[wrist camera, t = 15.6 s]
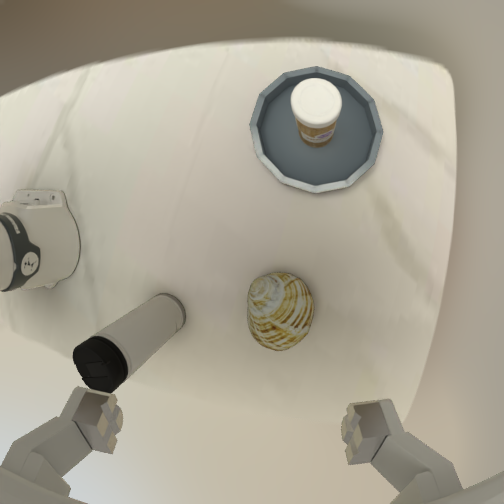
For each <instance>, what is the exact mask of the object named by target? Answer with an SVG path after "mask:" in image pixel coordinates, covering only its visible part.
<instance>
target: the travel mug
mask: <svg viewBox="0 0 504 504" xmlns="http://www.w3.org/2000/svg"><path fill="white" fill-rule="evenodd" d="M184 322H185V311H184V308H183V306H182V304H181V303H180V301H179V300H178V299H176V298H175V297H174V296H172V295H169V294H159V295H156V296H155V297H153V298H152V299H150V300H148V301H147V302H145V303H144V304H142V305H140V306H139V307H137V308H136V309H134V310H132V311H131V312H129V313H128V314H126V315H124V316H123V317H121V318H120V319H118V320H116V321H115V322H113V323H112V324H110V325H109V326H107V327H105V328H104V329H102V330H101V331H99V332H97V333H96V334H94V335H93V336H91V337H90V338H89V339H88V340H86V341H84V342H83V343H81V344H80V345H78V346H77V347H75V349H74V351H73V361H74V364H76V367H77V370H78V372H79V373H80V375H81V376H82V377H83V378H82V380H83V381H84V382H85V384H86V385H87V386H88V387H89V388H90V389H92V390H96V391H101V392H106V393H110V394H111V393H112V392H113V391H114V390H115V389H117V388H118V387H119V385H121V384H122V383H123V382H125V381H126V380H127V379H128V378H129V377H130V376H131V375H132V374H133V373H134V372H135V371H136V370H137V369H138V368H139V367H140V366H142V365H143V364H144V363H145V362H146V361H147V360H148V359H149V358H150V357H151V356H152V355H153V354H154V353H155V352H156V351H157V350H158V349H159V348H160V347H161V346H162V345H164V344H165V343H166V342H167V341H168V340H169V339H170V338H171V337H172V336H173V335H174V334H175V333H176V332H177V331H178V330H179V329H180V328H181V327H182V326H183V324H184Z"/></svg>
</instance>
